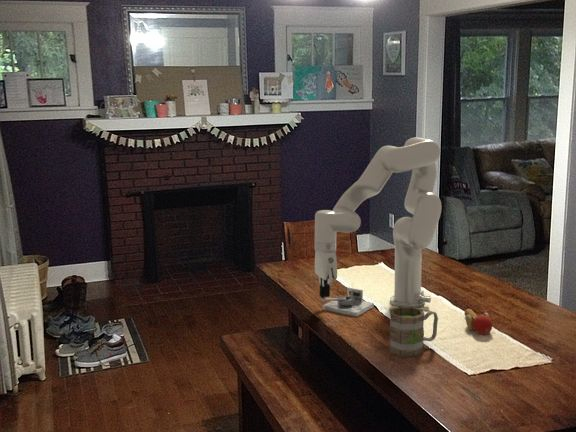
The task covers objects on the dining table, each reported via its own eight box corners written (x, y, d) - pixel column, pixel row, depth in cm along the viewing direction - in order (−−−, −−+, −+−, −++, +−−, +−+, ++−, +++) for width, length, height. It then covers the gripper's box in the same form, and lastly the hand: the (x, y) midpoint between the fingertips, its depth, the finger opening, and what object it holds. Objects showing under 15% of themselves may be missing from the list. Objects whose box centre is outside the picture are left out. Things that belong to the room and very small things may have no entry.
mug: (397, 359, 191) (398, 320, 189) (382, 345, 202) (382, 308, 199) (445, 351, 196) (446, 313, 193) (428, 338, 206) (429, 302, 203)
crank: (353, 300, 237) (353, 280, 236) (354, 306, 231) (354, 285, 230) (320, 300, 238) (320, 280, 236) (320, 306, 232) (320, 285, 230)
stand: (373, 306, 235) (373, 291, 234) (356, 317, 226) (356, 300, 225) (340, 300, 244) (340, 284, 242) (322, 309, 234) (322, 293, 233)
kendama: (455, 321, 224) (471, 334, 206) (458, 303, 223) (475, 314, 205) (477, 324, 224) (495, 337, 206) (480, 306, 224) (499, 318, 206)
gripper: (344, 250, 221) (343, 301, 225) (326, 240, 235) (326, 289, 239) (323, 252, 219) (323, 304, 222) (307, 242, 233) (306, 291, 236)
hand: (324, 296), depth 231 cm, fingers closed
